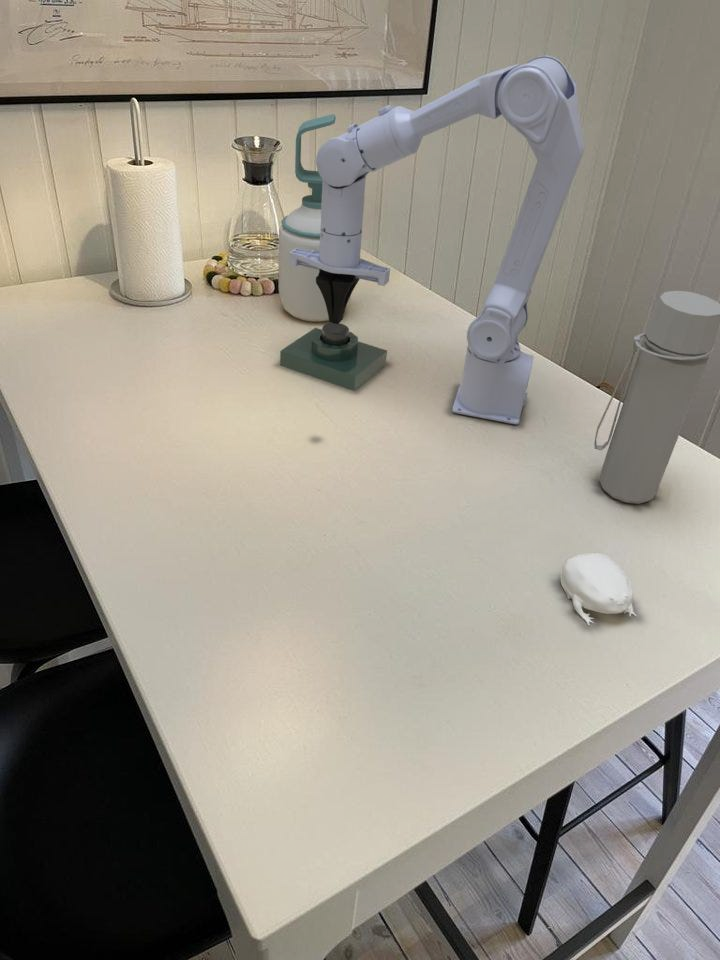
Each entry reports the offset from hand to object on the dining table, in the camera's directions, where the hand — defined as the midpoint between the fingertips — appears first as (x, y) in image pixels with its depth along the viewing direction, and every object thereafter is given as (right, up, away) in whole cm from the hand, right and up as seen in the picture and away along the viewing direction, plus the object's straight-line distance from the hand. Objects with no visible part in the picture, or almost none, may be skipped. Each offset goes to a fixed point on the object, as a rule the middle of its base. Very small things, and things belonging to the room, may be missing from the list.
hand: (335, 320), depth 111 cm
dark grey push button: (0, -3, +2) cm, 3 cm away
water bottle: (+36, -25, -16) cm, 47 cm away
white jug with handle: (-4, +6, +20) cm, 21 cm away
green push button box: (0, -6, +4) cm, 7 cm away
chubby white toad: (+28, -36, -32) cm, 56 cm away
